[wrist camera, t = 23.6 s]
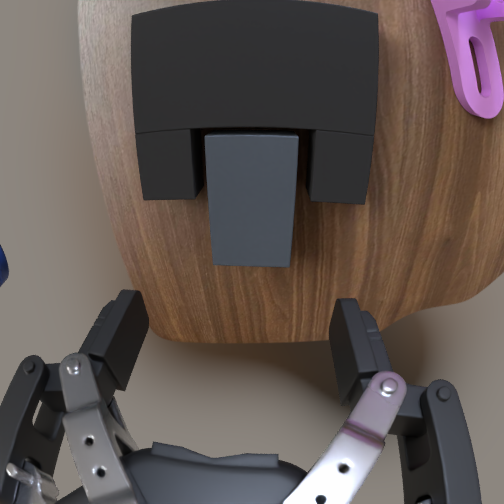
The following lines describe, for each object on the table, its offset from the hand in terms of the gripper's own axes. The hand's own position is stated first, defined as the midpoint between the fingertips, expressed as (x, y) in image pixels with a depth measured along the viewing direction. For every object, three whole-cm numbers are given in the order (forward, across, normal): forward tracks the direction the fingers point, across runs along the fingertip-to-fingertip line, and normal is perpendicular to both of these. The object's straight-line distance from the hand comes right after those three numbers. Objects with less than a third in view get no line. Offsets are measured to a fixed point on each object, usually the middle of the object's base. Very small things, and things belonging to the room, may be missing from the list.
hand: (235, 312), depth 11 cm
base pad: (+13, 0, -8) cm, 15 cm away
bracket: (+13, -18, -16) cm, 27 cm away
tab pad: (+13, 0, 0) cm, 13 cm away
